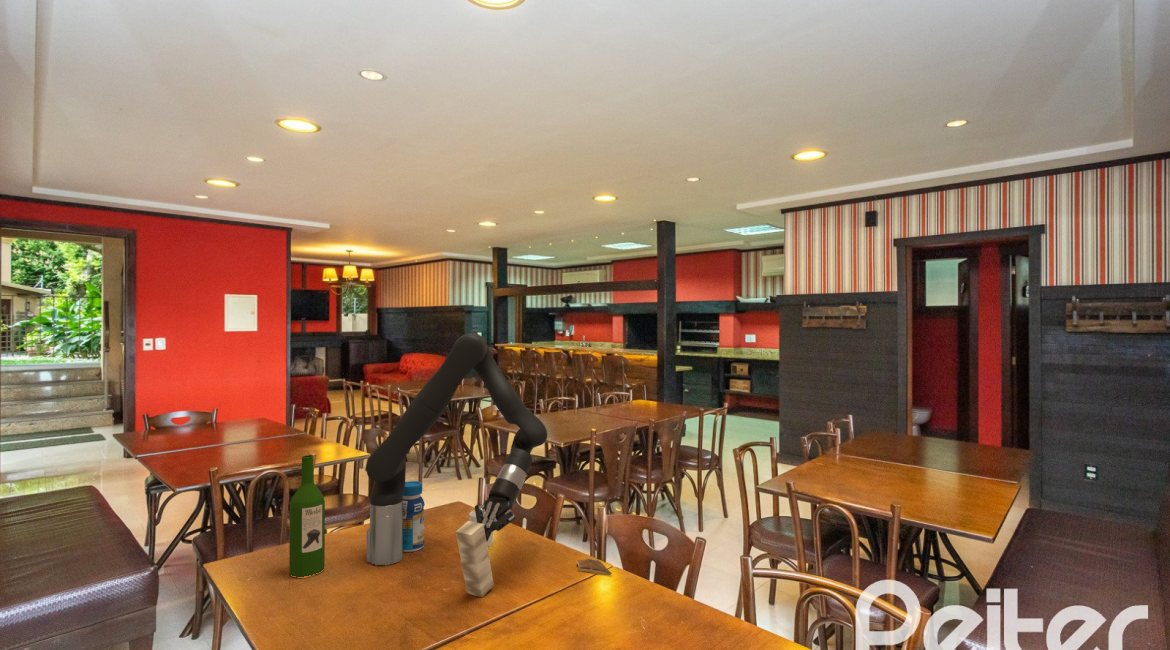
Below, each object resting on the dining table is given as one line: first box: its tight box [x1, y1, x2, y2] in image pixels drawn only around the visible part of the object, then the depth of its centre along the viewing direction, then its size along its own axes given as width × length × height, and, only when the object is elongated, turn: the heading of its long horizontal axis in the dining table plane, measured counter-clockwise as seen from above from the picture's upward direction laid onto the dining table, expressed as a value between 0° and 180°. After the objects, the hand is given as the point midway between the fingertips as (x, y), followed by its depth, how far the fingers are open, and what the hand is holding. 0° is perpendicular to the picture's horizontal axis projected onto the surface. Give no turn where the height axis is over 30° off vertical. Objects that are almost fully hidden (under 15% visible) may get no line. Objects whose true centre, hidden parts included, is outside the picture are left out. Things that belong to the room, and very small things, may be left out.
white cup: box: [468, 509, 494, 548], centre depth 182 cm, size 8×8×10 cm
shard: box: [575, 558, 613, 576], centre depth 163 cm, size 11×8×2 cm
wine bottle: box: [288, 454, 326, 577], centre depth 162 cm, size 9×9×32 cm
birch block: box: [455, 520, 495, 598], centre depth 148 cm, size 5×5×18 cm
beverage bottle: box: [403, 480, 426, 553], centre depth 179 cm, size 8×8×20 cm
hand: (480, 542), depth 150 cm, fingers closed
